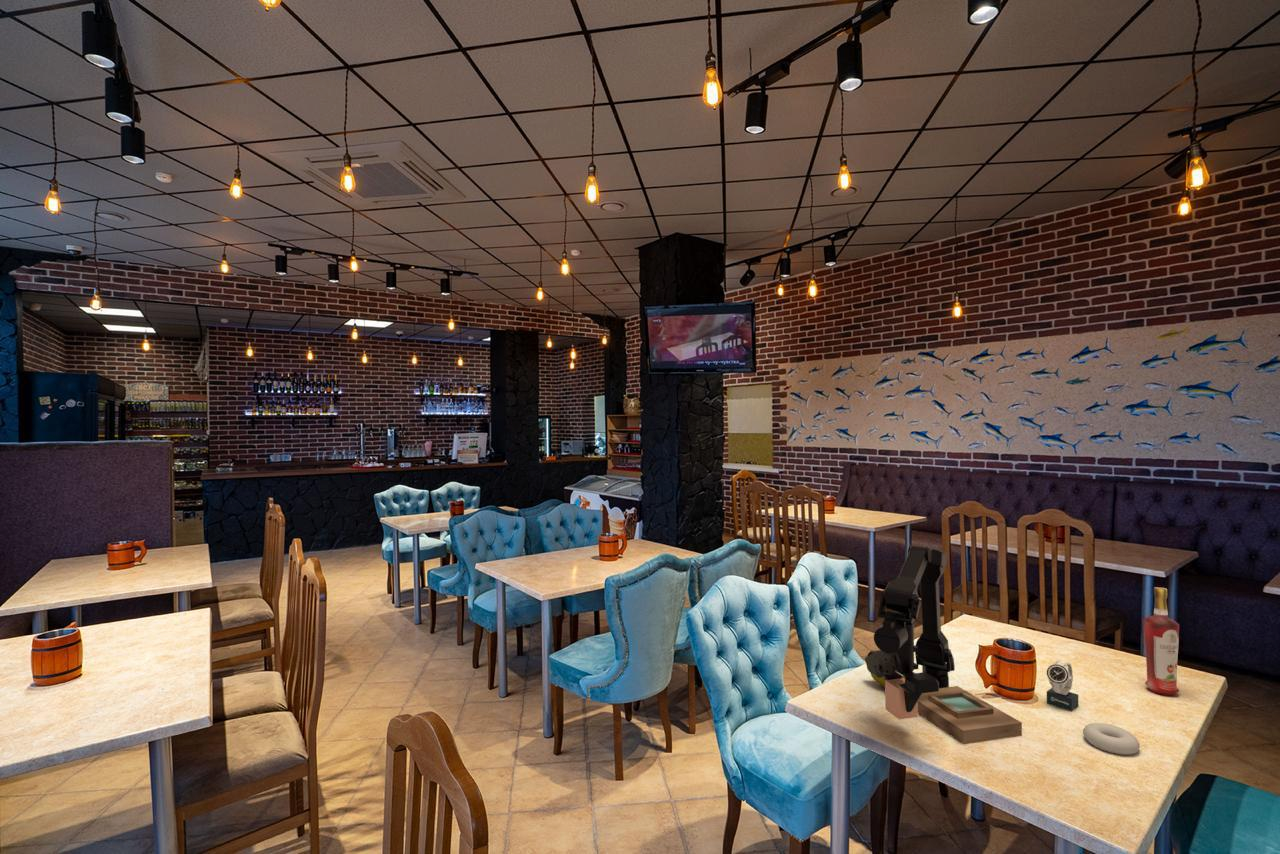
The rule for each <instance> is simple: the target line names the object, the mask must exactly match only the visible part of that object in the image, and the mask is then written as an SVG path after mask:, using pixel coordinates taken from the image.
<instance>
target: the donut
mask: <svg viewBox="0 0 1280 854" xmlns="http://www.w3.org/2000/svg"><path fill="white" fill-rule="evenodd" d="M1082 733H1083V736H1084V738H1085V740H1086V741H1087V742H1088V743H1089V744H1091V745H1092V746H1094V747H1095V748H1097V749H1100V750H1102V751H1103V752H1108V753H1109V754H1110V753H1111V754H1115V755H1123V756H1129V755H1131V756H1132V755H1133V754H1136V753H1138V752H1139V749H1140V746H1141V745H1140V742H1139V740H1138V739H1137V738H1138V737H1136V735H1134V734H1133V733H1131V732H1130V731H1128V730H1127V729H1124V728H1122V727H1119V726H1117V725H1113V724H1109V723H1103V722H1092V723H1088V724H1086V725H1085V726H1084V728H1083V729H1082Z"/></svg>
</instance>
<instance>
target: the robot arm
mask: <svg viewBox="0 0 1280 854" xmlns="http://www.w3.org/2000/svg"><path fill="white" fill-rule="evenodd" d="M947 557H948V556H947V554H946V553H945V552H943V550H942V549H939V548H932V547H928V546H926V545H925V546H924V545H915V544H912V545H908V549H907V556H906V558H905V559H904V563H903V565H902V567H901V569H900V572H899V575H898V576H897V577H896V578H895V579H892V580H890V581H889V582H888V583H887V585H886V587H885V589H883V590H882V592H881V596H880V602H879V607H878V611H877V612H878V613H877V617H878V618H881V619H883V621H882V625H881V626H880V627H879V628H877V629H876V630H875V632H874V634H873V640H874V641H873V642H874V643H875V645H876V647H877V648H878V650H877V649H876V650H870V651H869V652H868V654H867V656H866V657H865V658H864V661H865V664H866V669H867V668H868V669H867V671H868V672H869V673H870V674H871V673H873V674H874V675H875V676H876V677H878V678H881V677H884V679H885V680H892V679H901V678H902V676H904V677H906V678H905V683H904V684H899V685H900V686H901V687H902V688H903V690H904V695H905V706H906V711H907V712H911V711H912V710H913V708H914V706H915V704H916V703H917V701H918V699H919V697H920V696H921V694H922V693H929V692H937V691H939V688H946V687H950V686H949V685H950V683H949V680H950V679H949V673H950V672H954V671H955V668H956V667H955V658H954V656H953V655H954V654H953V653H952V650H951V648H949V640H948V638H947V637H946V635H945V634H944V633H943V631H942V625H941V601H940V600H941V599H940V578H941V577H942V575H943V574H944V572H945V569H946V567H947V563H948V562H947V561H948V559H947ZM919 585H920V587H919ZM918 587H919V588H920V595H919V594H918ZM886 609H887V610H886ZM920 609H921V624H922V625H921V626H922V633H921V634H920V636H919V637H918V639H917V640H916V642H915V633H914V632H915V624H914V623H915V620H918V617H919V613H920ZM919 666H921V667H922V669H921V671H922V672H914V670H919Z"/></svg>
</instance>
